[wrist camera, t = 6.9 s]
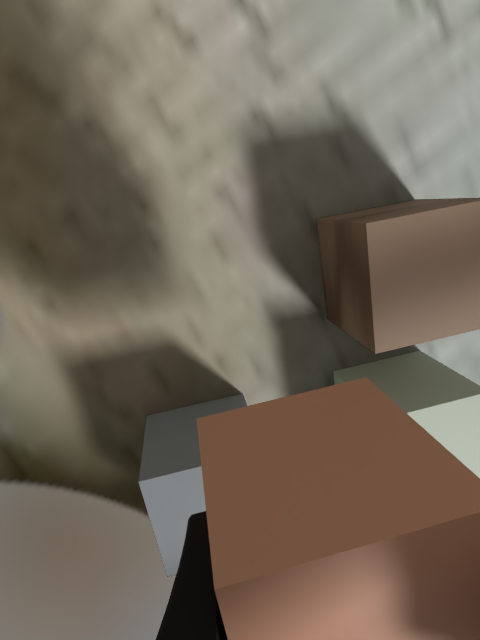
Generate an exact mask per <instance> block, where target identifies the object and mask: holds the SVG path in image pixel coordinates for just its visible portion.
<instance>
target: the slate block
mask: <svg viewBox="0 0 480 640" xmlns="http://www.w3.org/2000/svg"><path fill="white" fill-rule="evenodd" d="M246 406H247V404H246V401H245V398H244V396H243V394H239V395H235V396H230V397H226V398H221V399H217V400H213V401H208V402H204V403H200V404H195V405H191V406H187V407H182V408H178V409H174V410H169V411H165V412H161V413H156V414H152V415H148V416H147V418H146V426H145V434H144V442H143V450H142V458H141V466H140V474H139V485H140V489H141V492H142V495H143V498H144V502H145V505H146V508H147V512H148V515H149V518H150V522H151V525H152V528H153V531H154V534H155V538H156V542H157V545H158V548H159V551H160V555H161V558H162V561H163V565H164V568H165V571H166V575H167V577H169V576H172V575H176V574H177V571H178V567H179V563H180V559H181V555H182V551H183V546H184V541H185V536H186V531H187V524H188V519H189V517H190V516H191V515H192V514H196V513H200V512H203V511H206V505H205V495H204V486H203V476H202V467H201V457H200V448H199V438H198V429H197V418H201V417H205V416H209V415H214V414H218V413H222V412H226V411H230V410H234V409H238V408H242V407H246Z"/></svg>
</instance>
